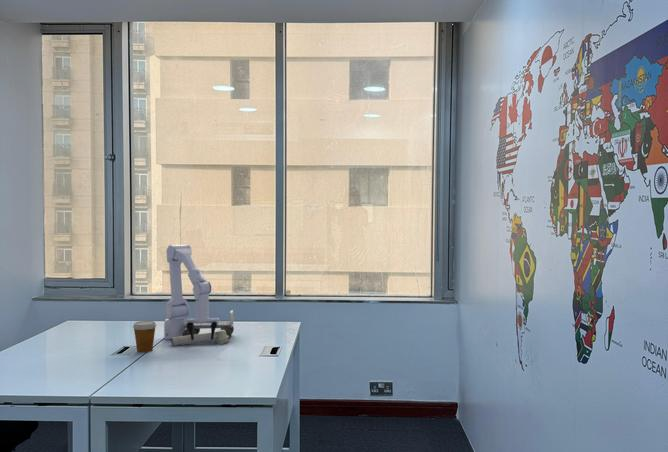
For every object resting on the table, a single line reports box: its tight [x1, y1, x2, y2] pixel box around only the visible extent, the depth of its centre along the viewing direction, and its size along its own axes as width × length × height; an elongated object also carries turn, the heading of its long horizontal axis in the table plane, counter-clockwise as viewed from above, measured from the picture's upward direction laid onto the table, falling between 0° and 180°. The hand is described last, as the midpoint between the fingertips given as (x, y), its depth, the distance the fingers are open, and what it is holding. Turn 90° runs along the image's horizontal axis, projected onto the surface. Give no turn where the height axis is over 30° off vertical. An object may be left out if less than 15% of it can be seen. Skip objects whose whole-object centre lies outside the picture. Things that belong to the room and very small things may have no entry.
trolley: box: [183, 310, 235, 340], centre depth 266 cm, size 22×13×12 cm, turn 95°
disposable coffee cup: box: [132, 320, 157, 353], centre depth 242 cm, size 10×10×12 cm
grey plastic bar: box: [170, 329, 230, 347], centre depth 256 cm, size 5×7×25 cm
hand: (202, 339), depth 253 cm, fingers open, 7 cm apart
